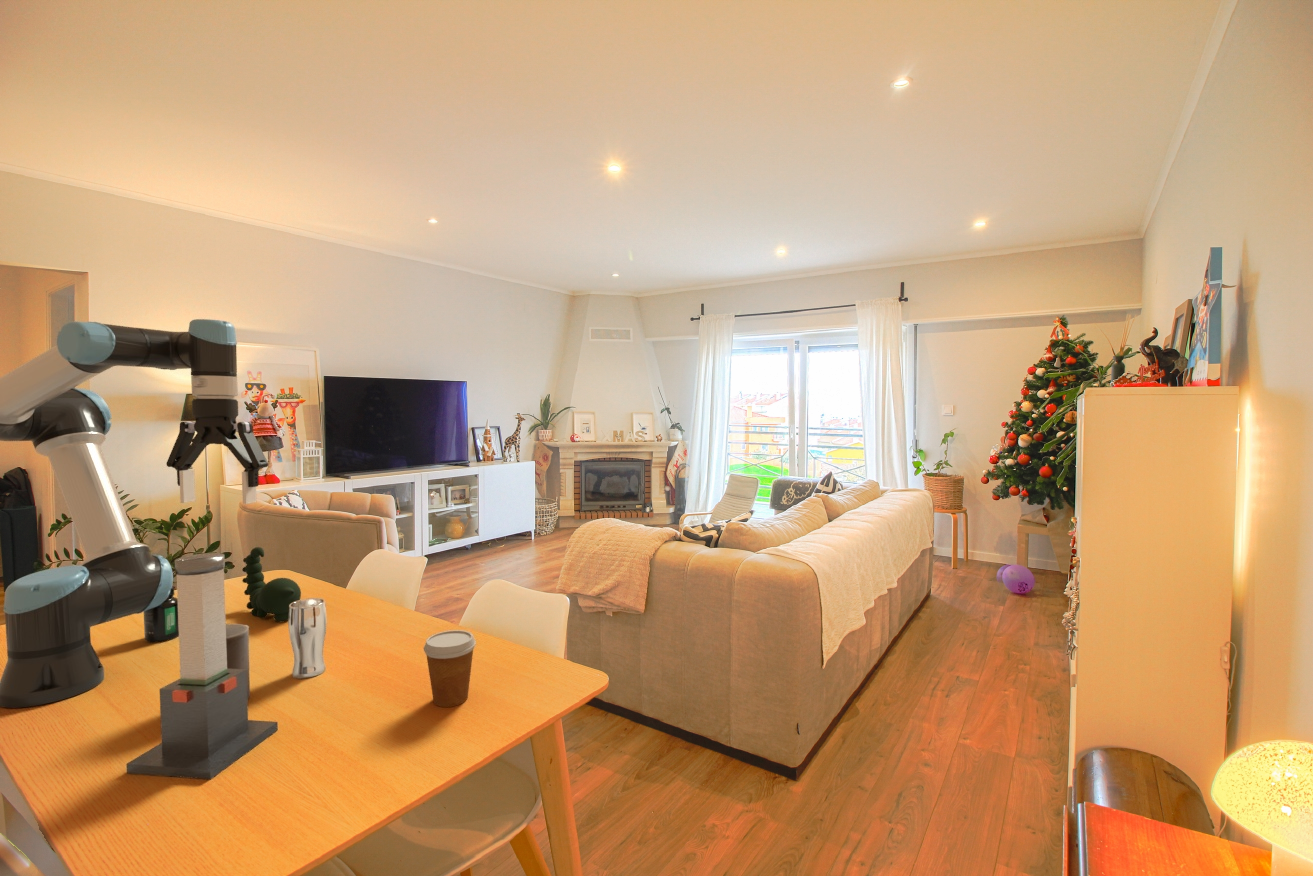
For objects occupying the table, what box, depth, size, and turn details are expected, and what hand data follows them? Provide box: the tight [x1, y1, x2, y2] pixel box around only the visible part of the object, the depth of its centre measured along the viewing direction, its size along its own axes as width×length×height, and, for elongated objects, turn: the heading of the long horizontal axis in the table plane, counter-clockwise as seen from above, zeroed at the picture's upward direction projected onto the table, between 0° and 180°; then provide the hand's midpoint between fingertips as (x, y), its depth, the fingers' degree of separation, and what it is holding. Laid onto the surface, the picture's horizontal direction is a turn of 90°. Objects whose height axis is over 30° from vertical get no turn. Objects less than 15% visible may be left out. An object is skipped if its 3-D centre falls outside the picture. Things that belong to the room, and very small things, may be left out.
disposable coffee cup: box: [423, 629, 477, 708], centre depth 116 cm, size 10×10×12 cm
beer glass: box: [287, 597, 328, 680], centre depth 128 cm, size 7×7×15 cm
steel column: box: [174, 552, 228, 687], centre depth 98 cm, size 6×6×24 cm
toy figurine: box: [241, 546, 302, 623], centre depth 162 cm, size 9×19×25 cm
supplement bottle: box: [143, 586, 179, 643], centre depth 147 cm, size 7×7×12 cm
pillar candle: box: [226, 623, 251, 701], centre depth 115 cm, size 10×10×15 cm
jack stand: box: [126, 669, 279, 780], centre depth 99 cm, size 14×14×12 cm
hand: (218, 502), depth 123 cm, fingers open, 13 cm apart
